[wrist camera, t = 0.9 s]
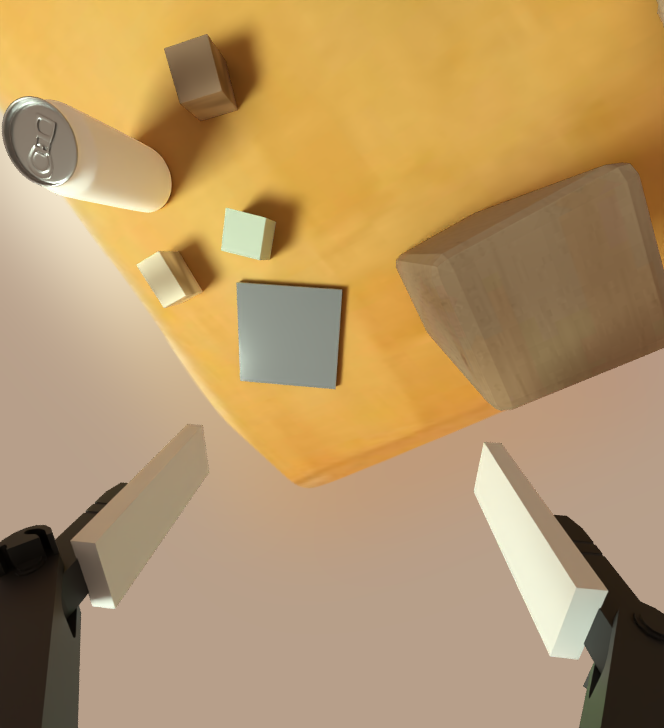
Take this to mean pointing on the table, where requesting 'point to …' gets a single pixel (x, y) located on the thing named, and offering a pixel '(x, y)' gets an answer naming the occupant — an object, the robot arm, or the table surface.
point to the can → (83, 156)
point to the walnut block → (201, 78)
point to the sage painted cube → (248, 235)
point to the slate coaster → (288, 334)
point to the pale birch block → (169, 278)
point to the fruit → (661, 10)
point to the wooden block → (544, 286)
